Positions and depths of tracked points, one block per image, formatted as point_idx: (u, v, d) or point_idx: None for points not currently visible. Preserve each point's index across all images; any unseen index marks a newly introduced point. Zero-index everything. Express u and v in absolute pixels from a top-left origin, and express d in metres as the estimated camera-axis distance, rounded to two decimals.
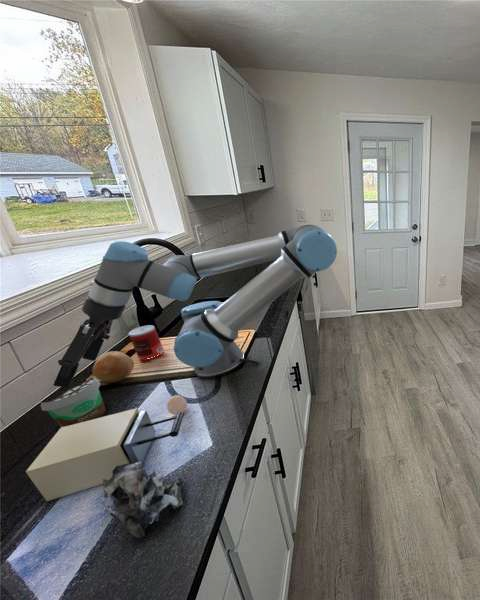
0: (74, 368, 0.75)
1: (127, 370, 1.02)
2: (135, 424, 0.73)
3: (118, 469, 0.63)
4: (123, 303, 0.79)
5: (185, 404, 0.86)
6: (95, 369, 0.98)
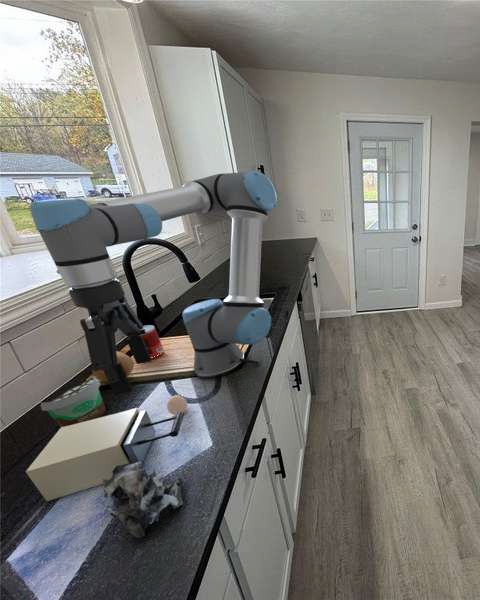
0: (118, 369, 0.61)
1: (127, 370, 1.02)
2: (135, 424, 0.73)
3: (118, 469, 0.63)
4: (109, 276, 0.60)
5: (185, 404, 0.86)
6: None
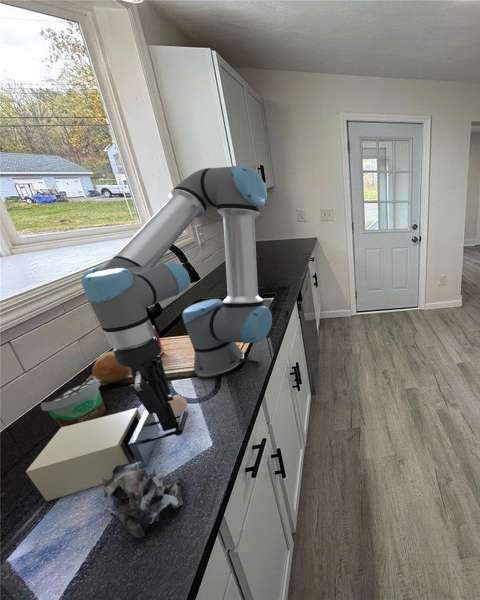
0: (167, 410, 0.73)
1: (127, 370, 1.02)
2: (140, 423, 0.73)
3: (118, 469, 0.63)
4: (149, 336, 0.66)
5: (185, 404, 0.86)
6: (95, 369, 0.98)
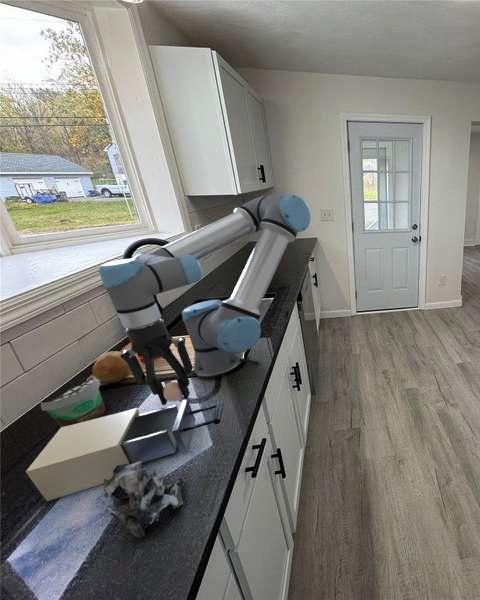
0: None
1: (127, 370, 1.02)
2: (179, 412, 0.76)
3: (119, 469, 0.63)
4: (129, 326, 0.72)
5: None
6: (95, 369, 0.98)
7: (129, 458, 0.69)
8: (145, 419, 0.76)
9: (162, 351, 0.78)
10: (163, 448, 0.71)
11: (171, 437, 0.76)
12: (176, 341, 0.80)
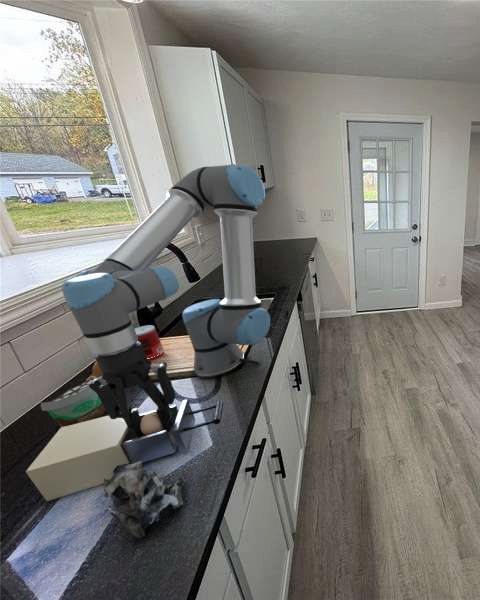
0: None
1: None
2: (179, 412, 0.76)
3: (119, 468, 0.63)
4: (99, 352, 0.62)
5: None
6: (95, 369, 0.98)
7: (129, 458, 0.69)
8: None
9: (139, 379, 0.68)
10: (163, 448, 0.71)
11: (171, 437, 0.76)
12: (156, 367, 0.69)
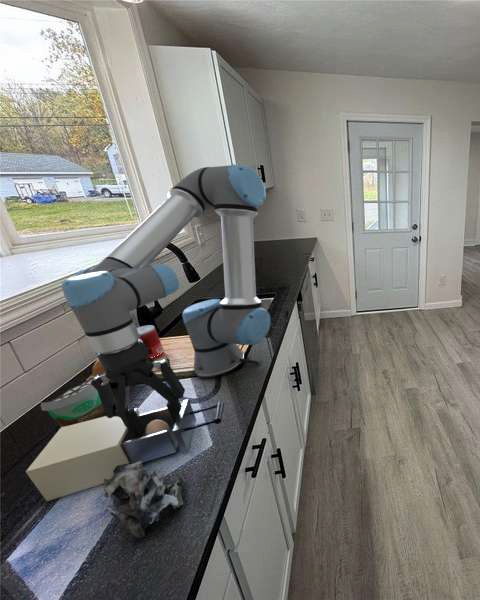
0: None
1: None
2: (180, 412, 0.76)
3: (119, 468, 0.63)
4: (101, 350, 0.62)
5: None
6: (95, 369, 0.98)
7: (130, 458, 0.69)
8: (146, 419, 0.76)
9: (142, 377, 0.68)
10: (164, 448, 0.71)
11: (172, 437, 0.76)
12: (158, 364, 0.69)
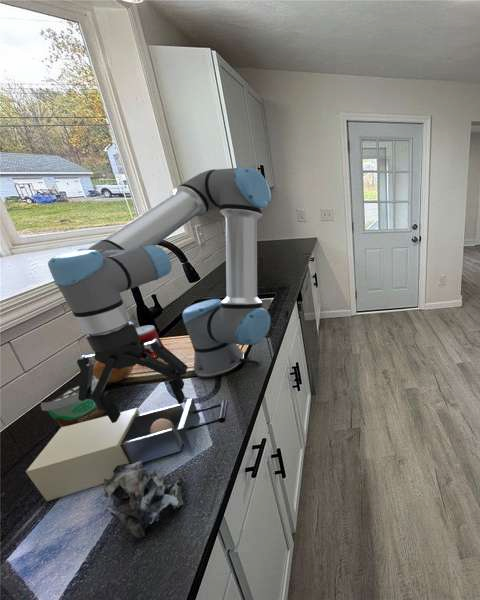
0: None
1: (127, 370, 1.02)
2: (185, 410, 0.76)
3: (119, 468, 0.63)
4: (89, 332, 0.60)
5: None
6: (95, 369, 0.98)
7: (135, 456, 0.69)
8: (150, 418, 0.77)
9: (133, 360, 0.66)
10: (169, 446, 0.72)
11: (176, 435, 0.76)
12: (149, 345, 0.67)
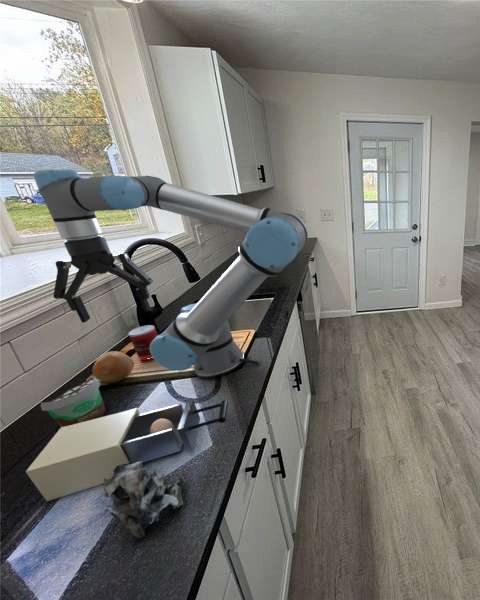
0: None
1: (127, 370, 1.02)
2: (185, 410, 0.76)
3: (119, 468, 0.63)
4: (66, 236, 0.73)
5: None
6: (95, 369, 0.98)
7: (135, 456, 0.69)
8: (150, 418, 0.77)
9: (103, 268, 0.79)
10: (169, 446, 0.72)
11: (176, 435, 0.76)
12: (117, 256, 0.81)
